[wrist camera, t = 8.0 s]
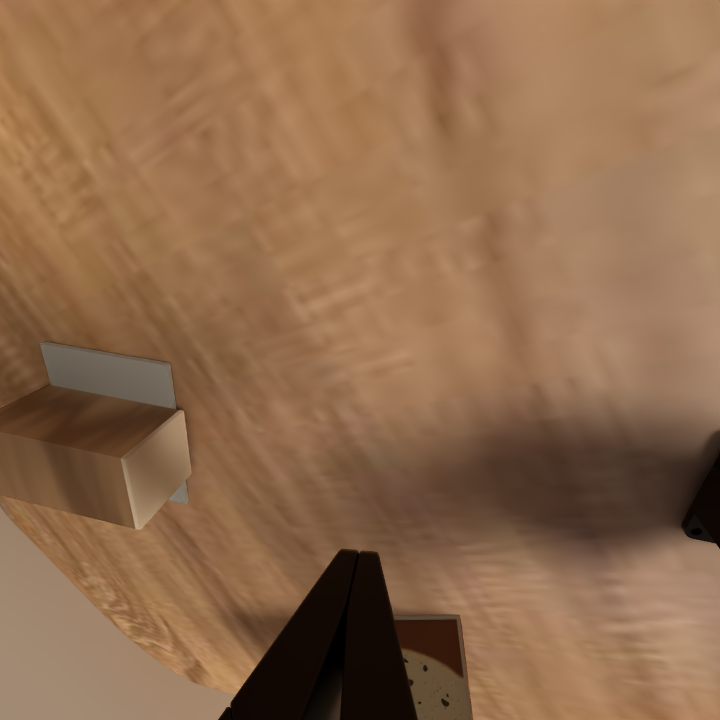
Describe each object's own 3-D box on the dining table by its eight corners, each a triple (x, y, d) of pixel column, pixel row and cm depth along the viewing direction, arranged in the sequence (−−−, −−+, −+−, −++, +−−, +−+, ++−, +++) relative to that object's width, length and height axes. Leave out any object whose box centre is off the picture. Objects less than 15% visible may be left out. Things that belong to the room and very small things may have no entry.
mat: (170, 363, 25) (166, 365, 24) (188, 500, 29) (185, 504, 29) (45, 341, 26) (39, 343, 26) (81, 475, 31) (76, 479, 30)
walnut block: (125, 459, 21) (-33, 424, 22) (140, 530, 23) (-6, 493, 25) (183, 410, 25) (48, 384, 27) (191, 473, 27) (65, 445, 29)
